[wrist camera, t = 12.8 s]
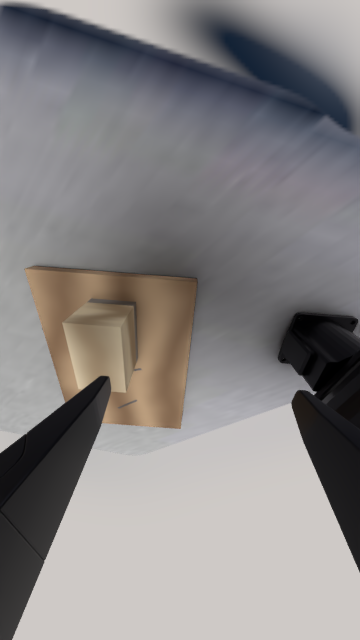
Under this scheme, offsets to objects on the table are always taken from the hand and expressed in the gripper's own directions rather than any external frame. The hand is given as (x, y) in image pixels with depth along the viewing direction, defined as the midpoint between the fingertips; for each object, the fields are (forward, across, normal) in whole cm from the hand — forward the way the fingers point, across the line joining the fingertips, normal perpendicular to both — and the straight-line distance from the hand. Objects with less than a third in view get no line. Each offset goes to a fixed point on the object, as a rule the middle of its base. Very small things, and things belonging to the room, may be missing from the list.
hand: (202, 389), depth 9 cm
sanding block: (+11, +8, +4) cm, 14 cm away
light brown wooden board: (+12, +8, +9) cm, 17 cm away
